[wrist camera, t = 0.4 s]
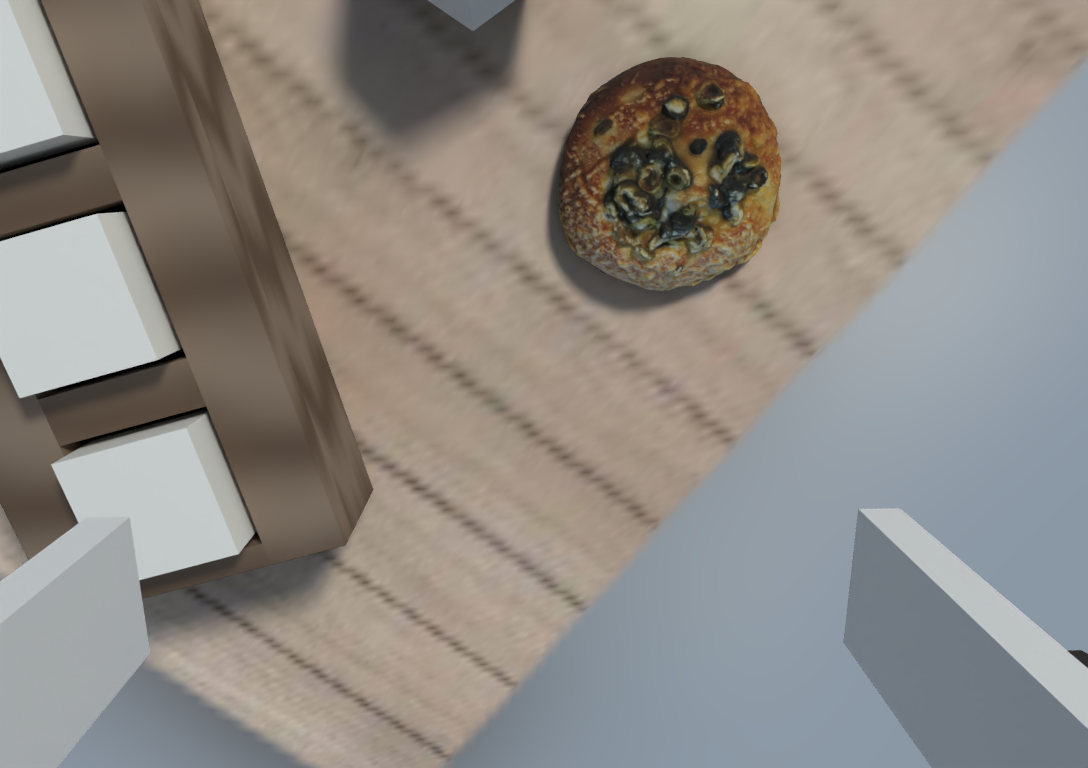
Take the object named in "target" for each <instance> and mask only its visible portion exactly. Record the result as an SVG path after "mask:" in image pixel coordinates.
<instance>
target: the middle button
mask: <svg viewBox="0 0 1088 768" xmlns="http://www.w3.org/2000/svg"><path fill="white" fill-rule="evenodd" d="M180 349H182V345H181V343H180V340H179V338H178V335H177V333H176V330H175V328H174V326H173V323H172V321H171V318H170V316H169V313H168V311H167V308H166V306H165V303H164V301H163V299H162V296H161V294H160V291H159V289H158V286H157V284H156V281H155V279H154V276H153V274H152V272H151V269H150V267H149V264H148V262H147V259H146V257H145V254H144V252H143V249H142V247H141V244H140V242H139V240H138V237H137V235H136V232H135V230H134V227H133V225H132V222H131V220H130V217H129V215H128V213H127V212H115V213H100V214H94V215H90V216H87V217H83V218H80V219H77V220H73V221H70V222H66V223H63V224H59V225H56V226H52V227H49V228H45V229H42V230H38V231H35V232H31V233H28V234H24V235H21V236H17V237H14V238H10V239H7V240H3V241H0V358H1V360H2V362H3V365H4V367H5V369H6V371H7V373H8V375H9V377H10V379H11V381H12V384H13V386H14V388H15V390H16V392H17V394H18V396H19V398H23V397H26V396H30V395H33V394H37V393H41V392H44V391H48V390H51V389H55V388H59V387H62V386H66V385H69V384H73V383H77V382H80V381H84V380H87V379H91V378H95V377H98V376H102V375H105V374H109V373H113V372H116V371H120V370H123V369H127V368H131V367H134V366H138V365H142V364H145V363H149V362H152V361H156V360H159V359H161V358H163V357H165V356H167V355H169V354H171V353H173V352H176V351H178V350H180Z"/></svg>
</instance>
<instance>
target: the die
mask: <svg viewBox="0 0 1088 768" xmlns="http://www.w3.org/2000/svg"><path fill="white" fill-rule="evenodd" d="M428 1H429V2H431V3H432V4H434V5H435V6H437V7H438V8H439V9H441V10H442V11H444V12H445V13H447V14H448V15H450V16H451V17H453V18H454V19H455V20H457V21H458V22H460V23H461V24H463V25H464V26H466V27H467V28H469V29H470V30H472V31H474V30H476V29H477V28H478V27H480V26H481V25H482V24H484V23H485V22H486V21H488V20H489V19H491V18H492V17H493V16H495V15H496V14H497V13H499V12H500V11H501V10H503V9H504V8H505V7H507V6H508V5H509V4H511V3H512V2H513V1H515V0H428Z"/></svg>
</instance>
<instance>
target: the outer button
mask: <svg viewBox="0 0 1088 768" xmlns="http://www.w3.org/2000/svg"><path fill="white" fill-rule="evenodd" d="M51 466H52V468H53V470H54V472H55V474H56V476H57V479H58V481H59V483H60V485H61V487H62V489H63V491H64V493H65V495H66V498H67V500H68V502H69V504H70V506H71V508H72V510H73V512H74V514H75V517H76V519H77V521H78V523H80V522H81V521H82V520H84V519H85V518H94V517H130V522H131V529H132V536H133V542H134V549H135V555H136V562H137V569H138V575H139V580H142V579H146V578H150V577H154V576H157V575H161V574H165V573H169V572H173V571H176V570H180V569H184V568H188V567H191V566H195V565H199V564H203V563H207V562H210V561H214V560H218V559H222V558H226V557H229V556H233V555H237V554H239V553H240V552H241V551H242V549H243V548H244V547H245V545H246V544H247V543H248V541H249V540H250V539H251V538H252V536H253V535H254V534H255V532H256V531H257V529H256V527H255V525H254V522H253V520H252V517H251V515H250V512H249V510H248V507H247V505H246V502H245V500H244V498H243V495H242V493H241V490H240V488H239V485H238V483H237V480H236V478H235V475H234V473H233V471H232V468H231V466H230V463H229V461H228V458H227V456H226V453H225V451H224V448H223V446H222V443H221V441H220V439H219V436H218V434H217V431H216V429H215V426H214V424H213V421H212V419H211V416H210V414H209V412H208V409H206V410H203V411H199V412H195V413H192V414H188V415H184V416H181V417H177V418H173V419H170V420H166V421H162V422H159V423H155V424H152V425H148V426H144V427H141V428H137V429H133V430H130V431H126V432H122V433H119V434H115V435H111V436H108V437H104V438H100V439H97V440H93V441H90V442H88V443H87V444H85V445H83V446H82V447H80V448H78V449H77V450H75V451H73V452H72V453H70V454H68V455H66V456H65V457H63V458H61V459H60V460H58V461H56V462H55V463H53V464H51Z"/></svg>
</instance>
